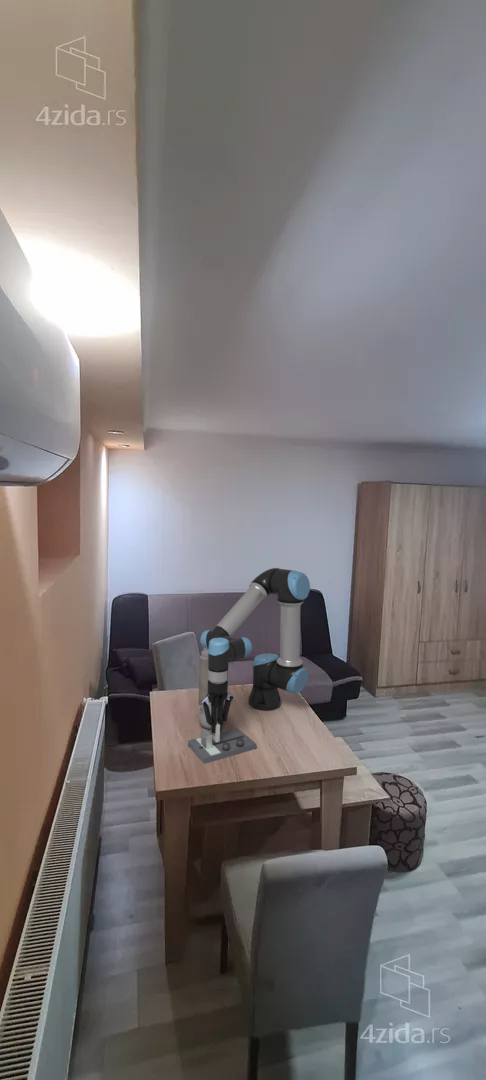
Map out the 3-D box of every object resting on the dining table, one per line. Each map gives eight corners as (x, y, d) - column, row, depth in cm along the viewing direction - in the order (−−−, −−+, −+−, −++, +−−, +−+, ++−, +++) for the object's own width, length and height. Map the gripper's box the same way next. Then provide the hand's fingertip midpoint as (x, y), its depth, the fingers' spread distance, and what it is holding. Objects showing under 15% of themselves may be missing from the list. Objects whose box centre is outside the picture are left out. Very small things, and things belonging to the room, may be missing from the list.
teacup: (220, 734, 186) (221, 714, 186) (194, 730, 189) (195, 711, 188) (228, 718, 200) (229, 700, 199) (204, 715, 202) (204, 697, 202)
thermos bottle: (216, 700, 218) (218, 642, 216) (215, 707, 210) (216, 647, 208) (199, 699, 218) (200, 641, 216) (197, 706, 210) (199, 646, 208)
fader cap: (206, 742, 175) (207, 729, 175) (212, 747, 171) (212, 734, 171) (201, 743, 174) (201, 730, 174) (206, 749, 170) (206, 735, 170)
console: (237, 732, 188) (237, 723, 188) (256, 748, 176) (256, 739, 176) (187, 745, 177) (188, 735, 176) (203, 763, 165) (204, 753, 164)
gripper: (228, 673, 179) (226, 732, 181) (197, 679, 173) (196, 740, 175) (237, 680, 173) (236, 741, 175) (206, 686, 166) (204, 749, 168)
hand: (216, 740), depth 175 cm, fingers closed
